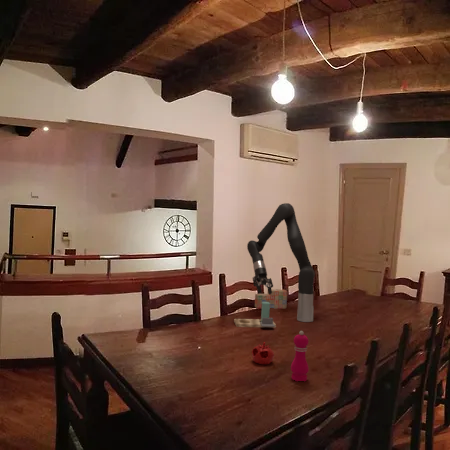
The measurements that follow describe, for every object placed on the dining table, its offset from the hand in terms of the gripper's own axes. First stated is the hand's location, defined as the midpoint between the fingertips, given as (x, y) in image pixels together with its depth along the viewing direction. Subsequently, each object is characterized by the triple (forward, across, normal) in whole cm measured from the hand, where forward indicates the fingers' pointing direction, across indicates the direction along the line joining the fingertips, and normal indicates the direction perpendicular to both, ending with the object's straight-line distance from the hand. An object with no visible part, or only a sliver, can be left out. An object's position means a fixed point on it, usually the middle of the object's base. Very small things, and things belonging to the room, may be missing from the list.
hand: (265, 293), depth 276 cm
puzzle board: (+19, -10, +4) cm, 22 cm away
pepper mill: (+64, -45, -53) cm, 95 cm away
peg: (+20, -5, +1) cm, 21 cm away
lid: (+23, -10, -6) cm, 25 cm away
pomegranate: (+52, -46, -34) cm, 77 cm away
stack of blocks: (-3, +28, +27) cm, 39 cm away
